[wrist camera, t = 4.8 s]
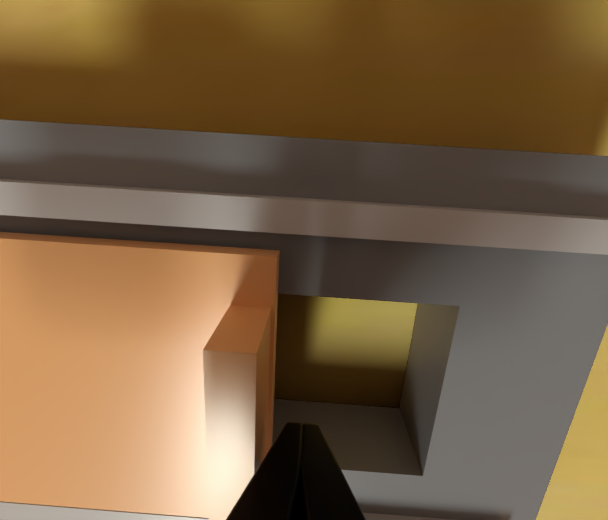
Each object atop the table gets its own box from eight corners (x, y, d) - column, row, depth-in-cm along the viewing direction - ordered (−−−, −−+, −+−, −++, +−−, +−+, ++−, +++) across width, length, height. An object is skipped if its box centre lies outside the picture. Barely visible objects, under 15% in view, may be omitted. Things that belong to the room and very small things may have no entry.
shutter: (279, 250, 8) (263, 288, 6) (269, 503, 10) (255, 608, 8) (-56, 227, 8) (-219, 255, 6) (12, 482, 11) (-81, 580, 8)
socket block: (569, 161, 10) (698, 159, 7) (476, 488, 14) (527, 591, 11) (-99, 120, 11) (-298, 99, 7) (-7, 450, 15) (-107, 539, 11)
